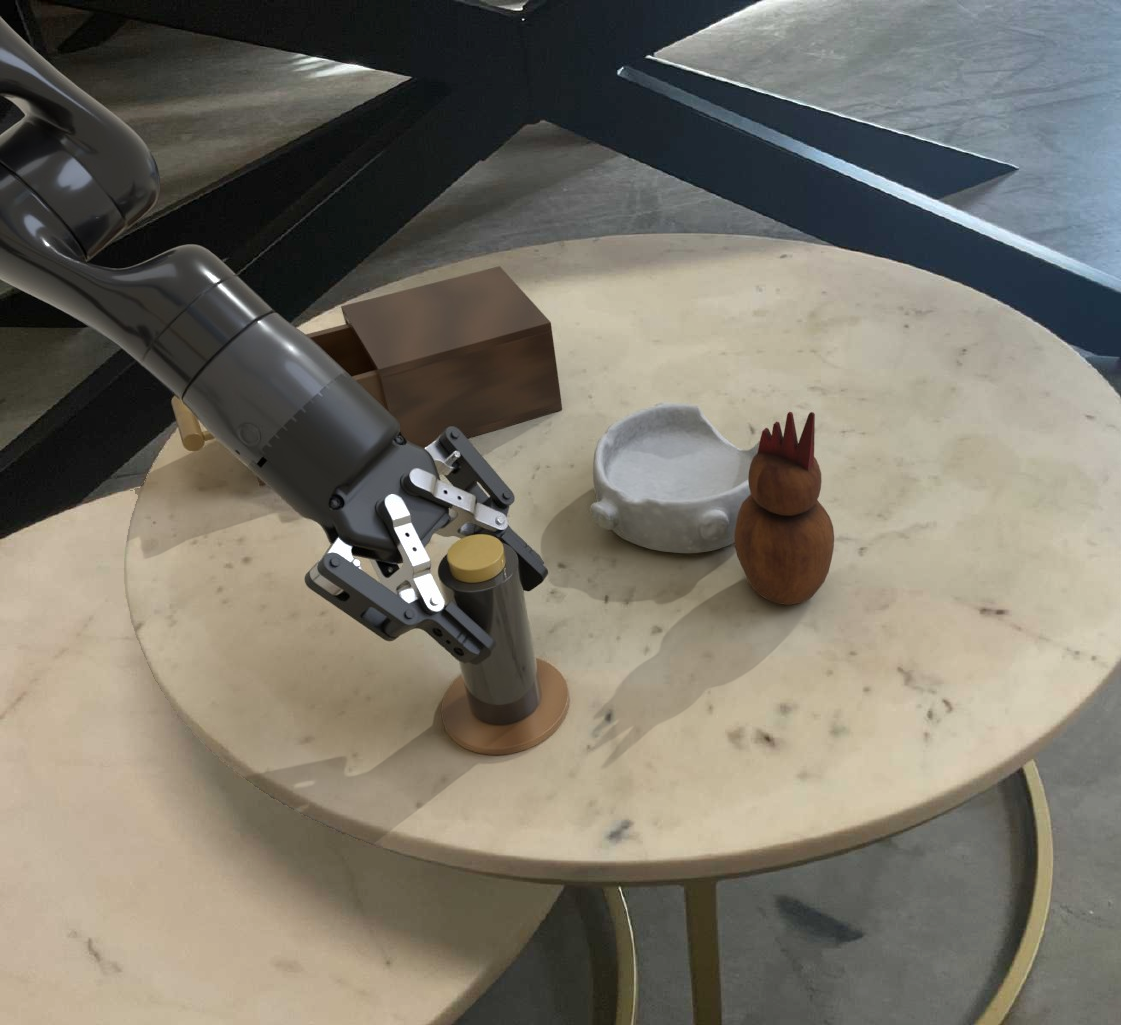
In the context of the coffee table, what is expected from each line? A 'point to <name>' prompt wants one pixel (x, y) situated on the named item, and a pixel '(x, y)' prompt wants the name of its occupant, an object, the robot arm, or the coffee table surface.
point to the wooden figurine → (785, 518)
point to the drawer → (334, 343)
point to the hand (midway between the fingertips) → (512, 617)
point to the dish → (670, 480)
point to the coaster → (511, 736)
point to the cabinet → (459, 355)
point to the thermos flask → (494, 628)
